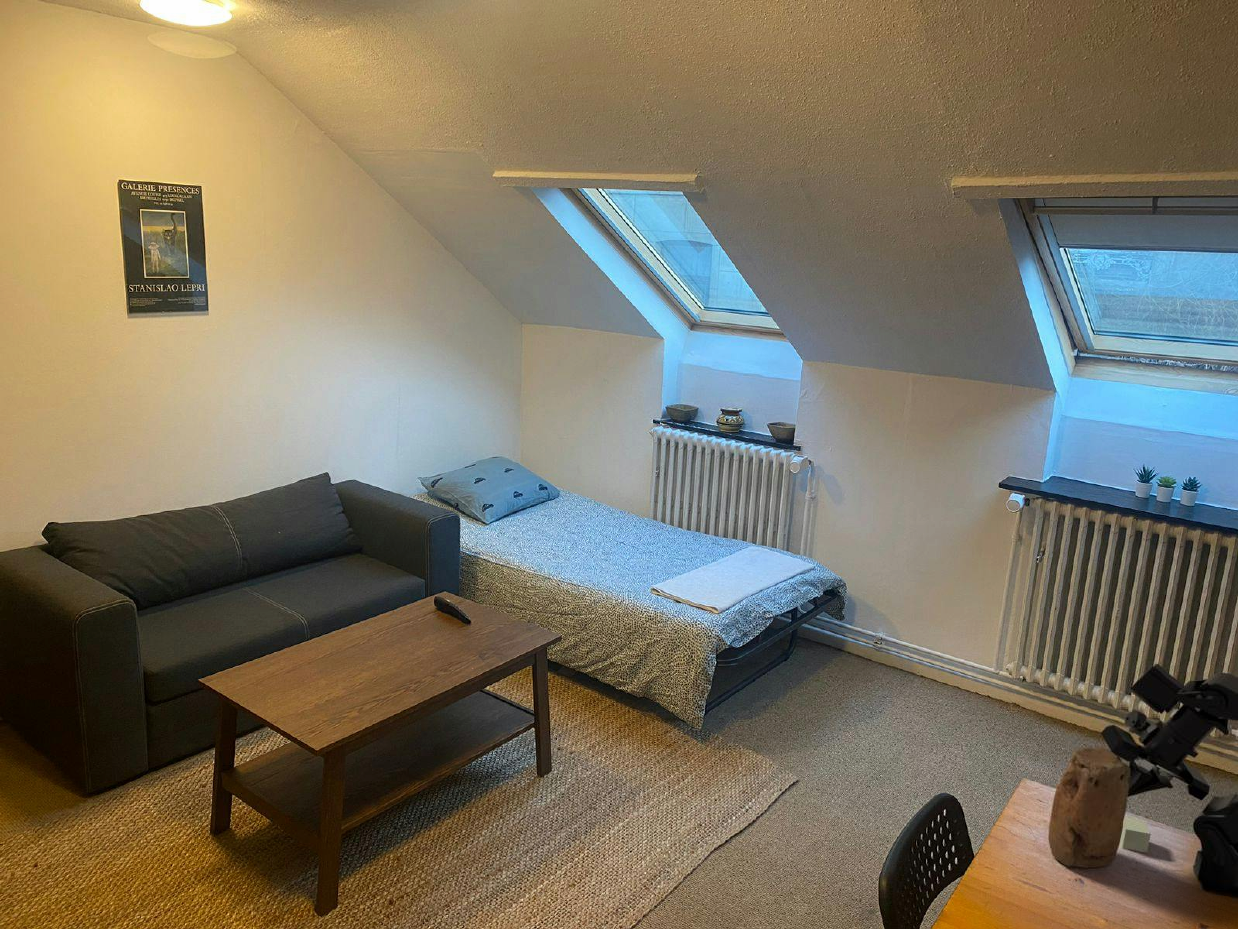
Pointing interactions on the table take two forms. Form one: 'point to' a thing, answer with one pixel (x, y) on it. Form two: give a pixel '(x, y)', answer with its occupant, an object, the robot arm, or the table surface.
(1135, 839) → the sage cube
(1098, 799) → the brown stone
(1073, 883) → the table surface
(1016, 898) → the table surface
